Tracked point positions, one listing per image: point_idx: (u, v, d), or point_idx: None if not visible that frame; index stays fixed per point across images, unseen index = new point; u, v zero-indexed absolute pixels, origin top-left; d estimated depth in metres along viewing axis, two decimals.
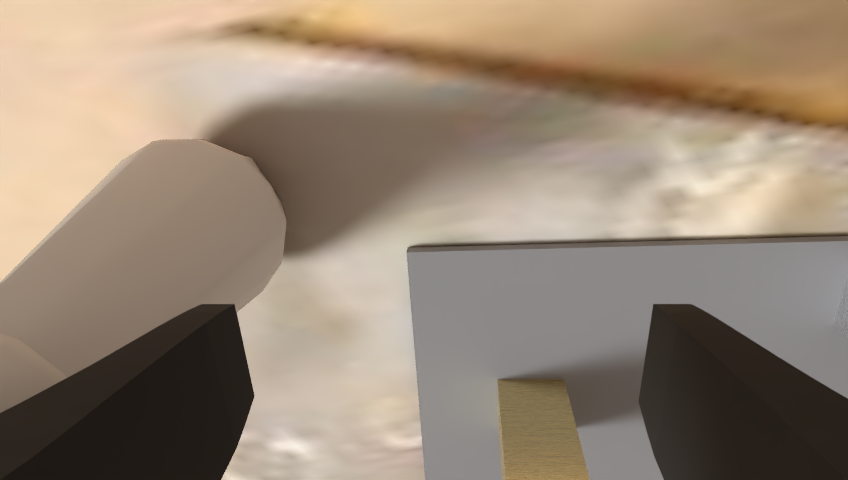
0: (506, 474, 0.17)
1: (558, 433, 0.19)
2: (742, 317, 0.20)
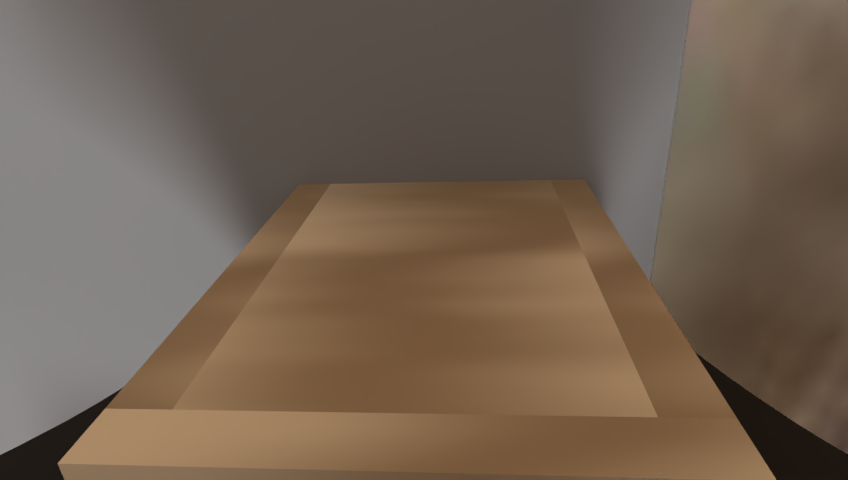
0: None
1: None
2: None
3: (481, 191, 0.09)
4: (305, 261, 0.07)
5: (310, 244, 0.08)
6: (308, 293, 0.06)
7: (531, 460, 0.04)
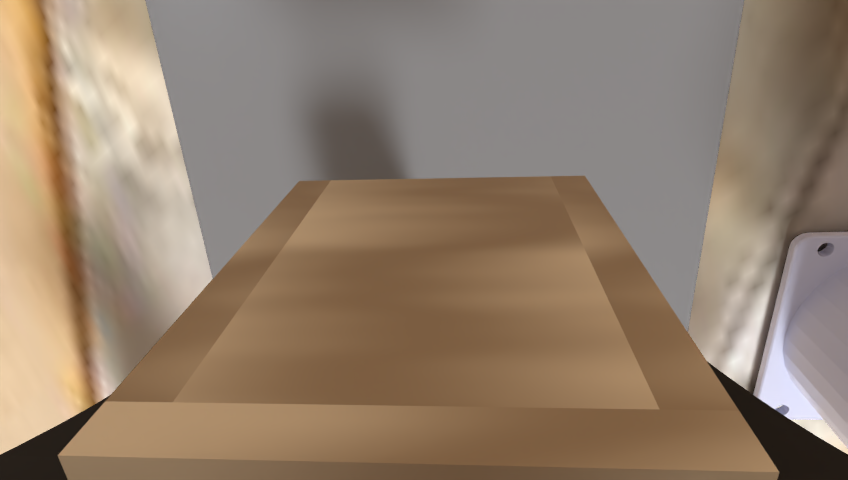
0: None
1: None
2: (249, 61, 0.17)
3: (481, 187, 0.09)
4: (305, 256, 0.07)
5: (310, 239, 0.08)
6: (309, 287, 0.06)
7: (532, 452, 0.04)
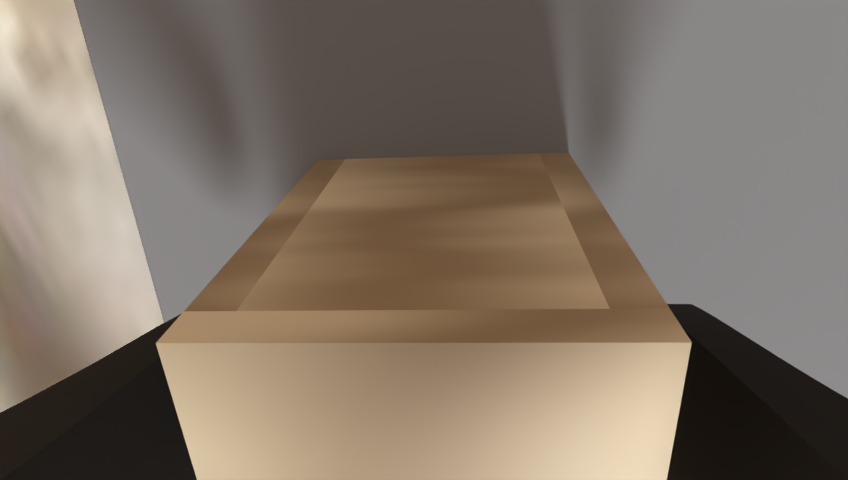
0: None
1: None
2: None
3: (478, 162, 0.11)
4: (329, 215, 0.08)
5: (332, 203, 0.09)
6: (334, 237, 0.08)
7: (511, 335, 0.05)
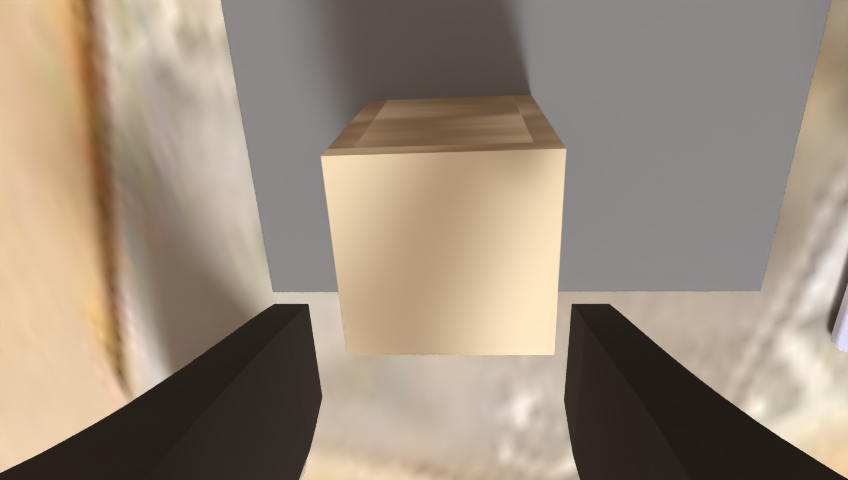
0: None
1: None
2: None
3: (473, 99, 0.17)
4: (387, 120, 0.15)
5: (386, 116, 0.15)
6: (392, 127, 0.14)
7: (486, 149, 0.12)
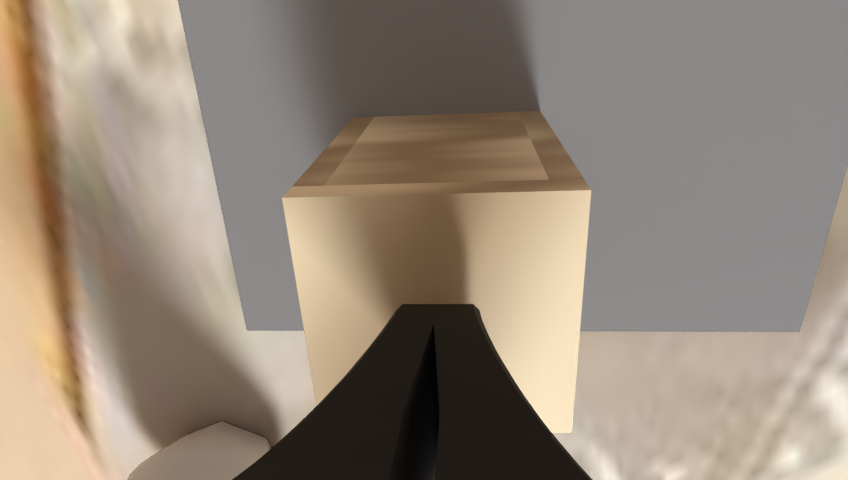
0: None
1: None
2: None
3: (473, 117, 0.15)
4: (370, 145, 0.12)
5: (370, 139, 0.13)
6: (376, 154, 0.12)
7: (490, 190, 0.09)
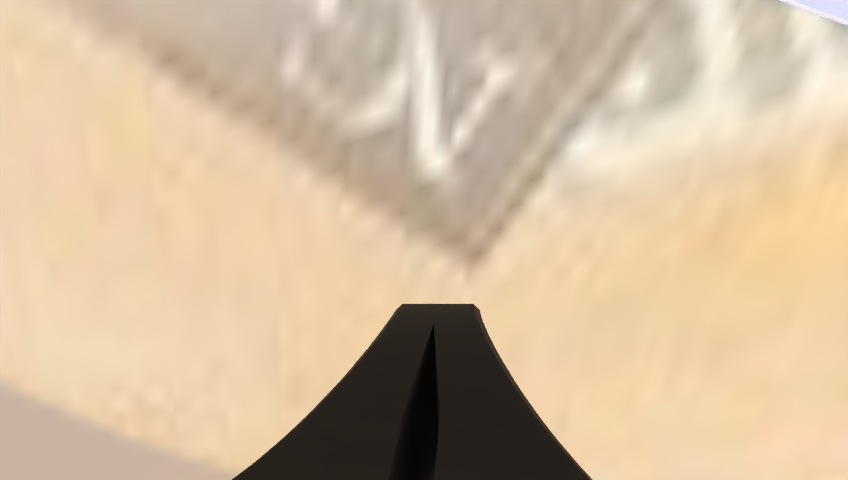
0: None
1: None
2: None
3: None
4: None
5: None
6: None
7: None
